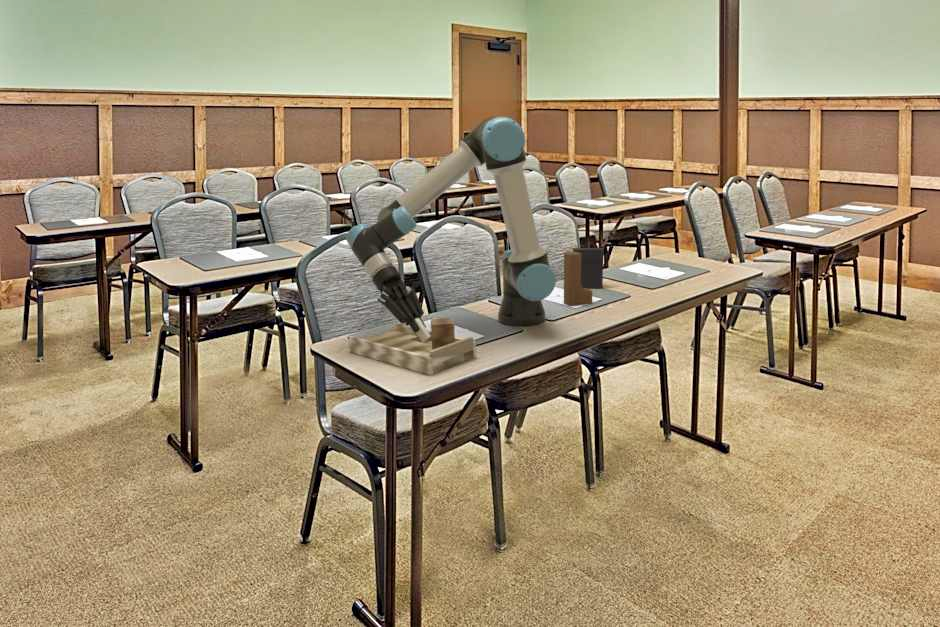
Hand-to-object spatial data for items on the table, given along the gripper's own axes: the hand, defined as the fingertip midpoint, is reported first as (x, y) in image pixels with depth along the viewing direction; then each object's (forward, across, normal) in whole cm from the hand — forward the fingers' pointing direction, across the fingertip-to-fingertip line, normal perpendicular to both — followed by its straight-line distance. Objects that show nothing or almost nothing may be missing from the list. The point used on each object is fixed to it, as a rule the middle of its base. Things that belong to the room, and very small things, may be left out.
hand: (427, 339), depth 209 cm
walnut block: (+4, -4, 0) cm, 5 cm away
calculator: (-4, -96, -12) cm, 97 cm away
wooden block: (+3, -75, -5) cm, 75 cm away
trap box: (-1, 0, -8) cm, 8 cm away
